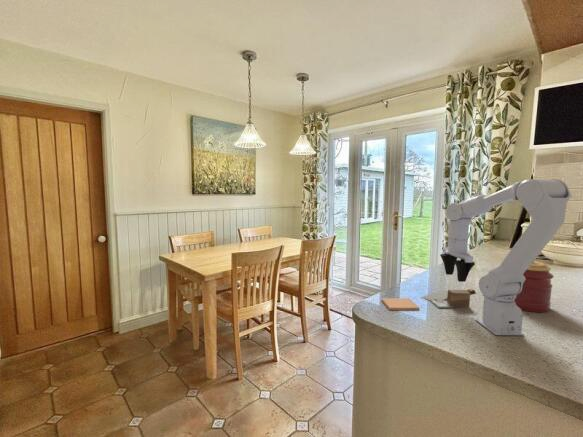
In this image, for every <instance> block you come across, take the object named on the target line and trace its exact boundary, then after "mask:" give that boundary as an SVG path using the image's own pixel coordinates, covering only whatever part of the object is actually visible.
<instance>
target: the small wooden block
mask: <svg viewBox="0 0 583 437" xmlns="http://www.w3.org/2000/svg"><path fill="white" fill-rule="evenodd" d="M447 291H448V296H447V300H446V301H442V302H436V301H430V303H432V304H433V305H434V306H435V307H437V308H438V309H454V308H470V300H471V294H470V293H469V292H467V289H447Z"/></svg>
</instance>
